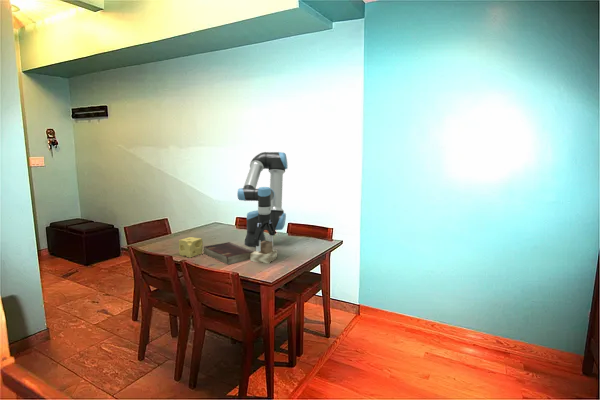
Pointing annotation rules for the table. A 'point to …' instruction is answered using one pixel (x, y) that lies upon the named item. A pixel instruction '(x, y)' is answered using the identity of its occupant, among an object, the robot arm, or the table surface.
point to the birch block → (263, 256)
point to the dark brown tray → (228, 252)
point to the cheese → (190, 246)
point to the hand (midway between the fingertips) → (264, 248)
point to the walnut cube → (266, 247)
